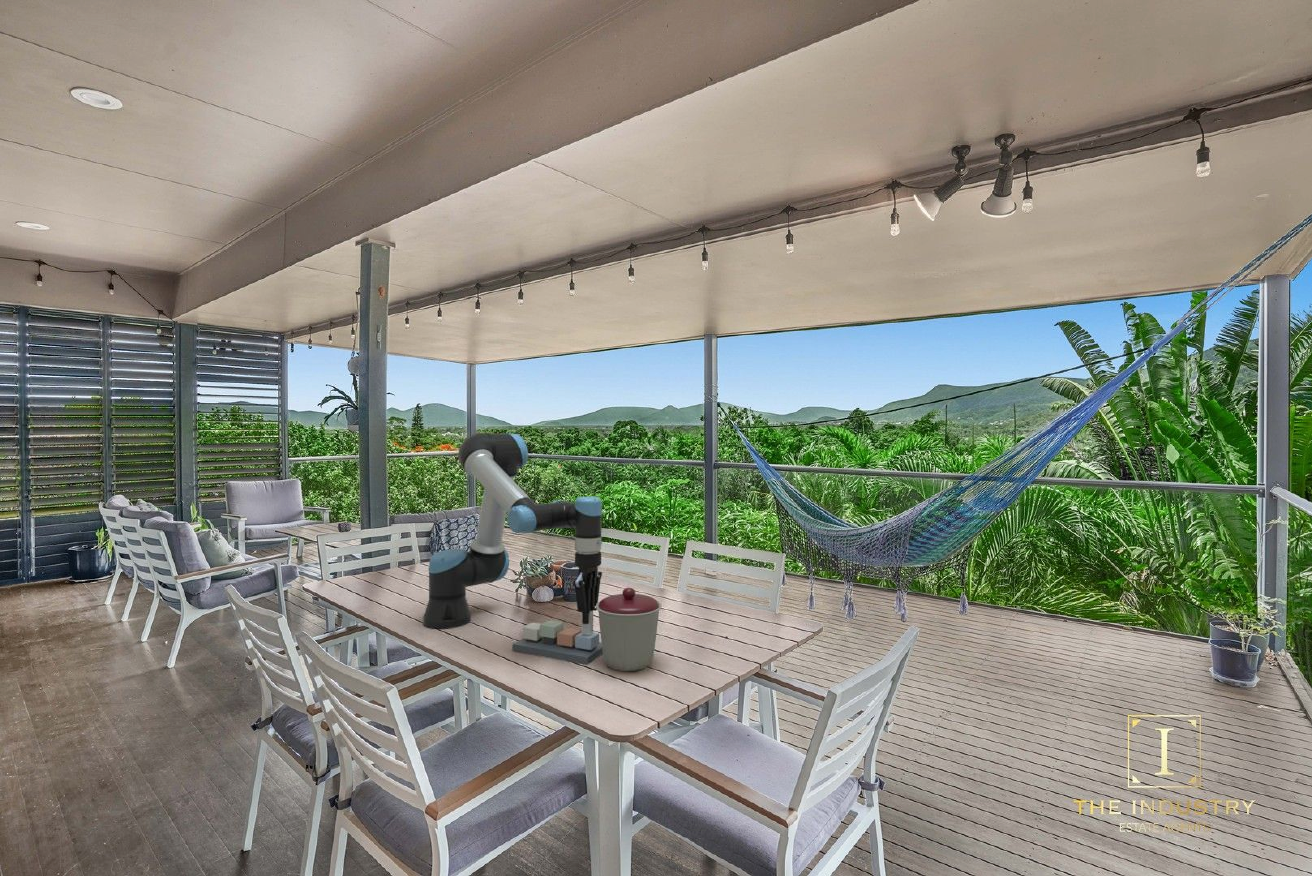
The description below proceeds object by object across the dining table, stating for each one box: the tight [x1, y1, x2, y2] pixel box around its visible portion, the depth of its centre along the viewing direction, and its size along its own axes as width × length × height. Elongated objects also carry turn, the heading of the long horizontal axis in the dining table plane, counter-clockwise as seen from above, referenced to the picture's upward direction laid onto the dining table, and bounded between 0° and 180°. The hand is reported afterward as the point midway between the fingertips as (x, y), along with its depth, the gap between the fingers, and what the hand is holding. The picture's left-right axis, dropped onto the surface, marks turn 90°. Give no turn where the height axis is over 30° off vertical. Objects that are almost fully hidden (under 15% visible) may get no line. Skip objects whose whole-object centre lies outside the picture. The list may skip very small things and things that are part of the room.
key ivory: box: [521, 622, 543, 641], centre depth 177 cm, size 5×5×3 cm
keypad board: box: [511, 637, 603, 665], centre depth 174 cm, size 25×12×4 cm, turn 67°
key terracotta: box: [557, 627, 582, 647], centre depth 173 cm, size 5×5×3 cm
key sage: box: [540, 620, 565, 638], centre depth 175 cm, size 5×5×3 cm
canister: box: [595, 587, 662, 672], centre depth 164 cm, size 18×18×21 cm
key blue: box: [575, 631, 600, 650], centre depth 170 cm, size 5×5×3 cm
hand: (587, 633), depth 170 cm, fingers closed
